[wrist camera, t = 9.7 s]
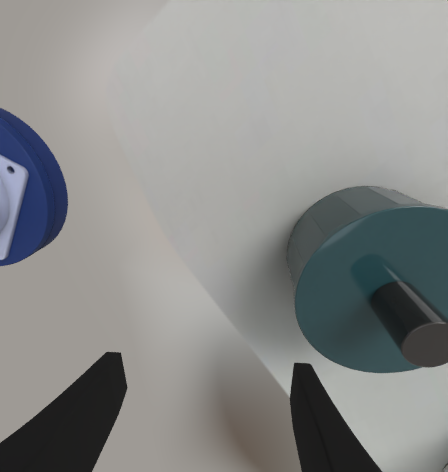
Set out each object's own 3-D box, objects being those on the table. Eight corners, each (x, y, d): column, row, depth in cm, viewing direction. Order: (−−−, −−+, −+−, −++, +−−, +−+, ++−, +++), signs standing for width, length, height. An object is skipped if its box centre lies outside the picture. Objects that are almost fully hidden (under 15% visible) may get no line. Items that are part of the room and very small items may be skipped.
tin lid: (258, 312, 17) (261, 370, 13) (373, 160, 13) (427, 176, 9) (394, 382, 18) (435, 456, 14) (534, 261, 14) (647, 315, 10)
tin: (262, 271, 21) (266, 317, 16) (342, 158, 18) (379, 171, 13) (364, 327, 22) (398, 385, 17) (459, 230, 19) (537, 269, 14)
